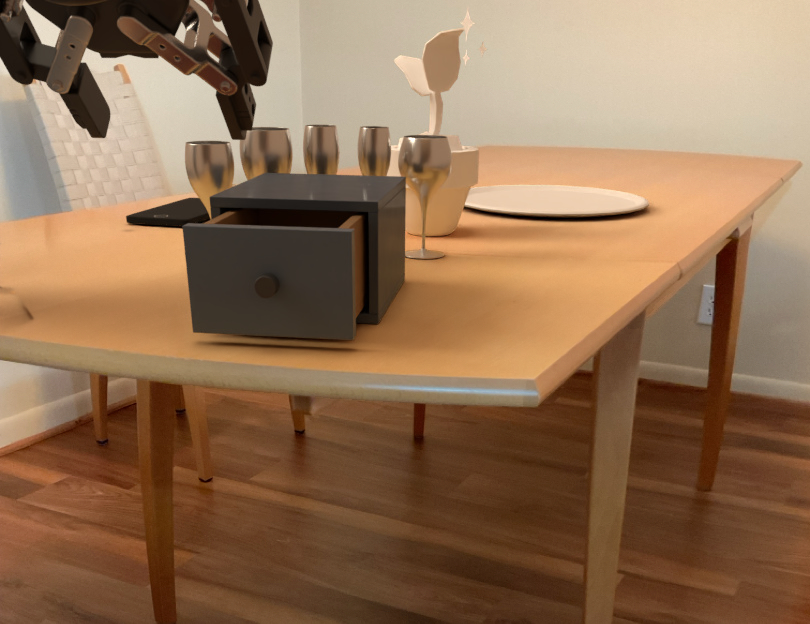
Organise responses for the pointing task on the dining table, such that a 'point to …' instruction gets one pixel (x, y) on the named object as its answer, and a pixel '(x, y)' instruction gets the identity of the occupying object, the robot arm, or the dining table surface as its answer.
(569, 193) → the plate
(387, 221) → the cabinet
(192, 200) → the cell phone
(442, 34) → the potted plant
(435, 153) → the goblet set
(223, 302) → the drawer
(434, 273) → the dining table surface
